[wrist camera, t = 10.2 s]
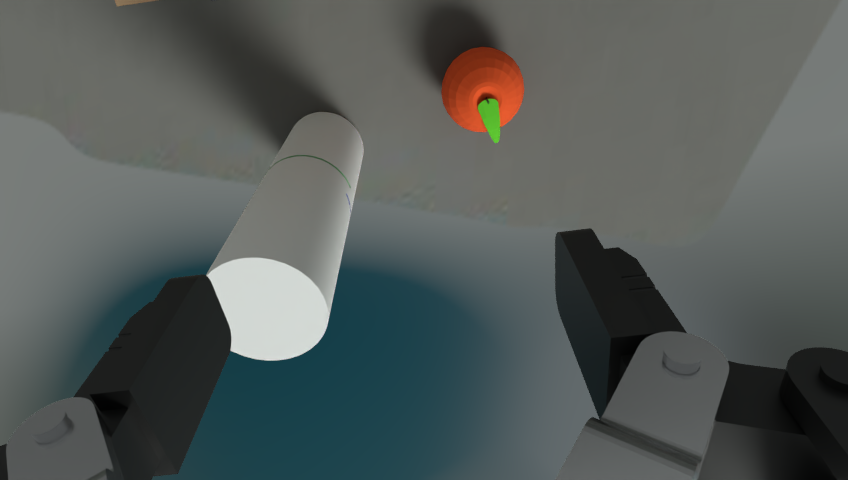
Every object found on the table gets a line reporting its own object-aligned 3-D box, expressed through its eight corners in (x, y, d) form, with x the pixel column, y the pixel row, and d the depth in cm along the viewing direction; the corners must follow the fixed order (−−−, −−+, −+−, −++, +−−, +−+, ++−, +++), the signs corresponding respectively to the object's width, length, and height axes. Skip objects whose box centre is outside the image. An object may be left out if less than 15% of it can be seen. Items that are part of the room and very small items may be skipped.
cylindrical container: (297, 185, 52) (218, 365, 31) (280, 115, 49) (177, 264, 27) (368, 178, 52) (338, 354, 31) (357, 107, 49) (314, 251, 27)
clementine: (526, 115, 49) (542, 141, 43) (454, 137, 50) (461, 166, 44) (506, 28, 45) (521, 44, 39) (429, 54, 46) (432, 73, 40)
